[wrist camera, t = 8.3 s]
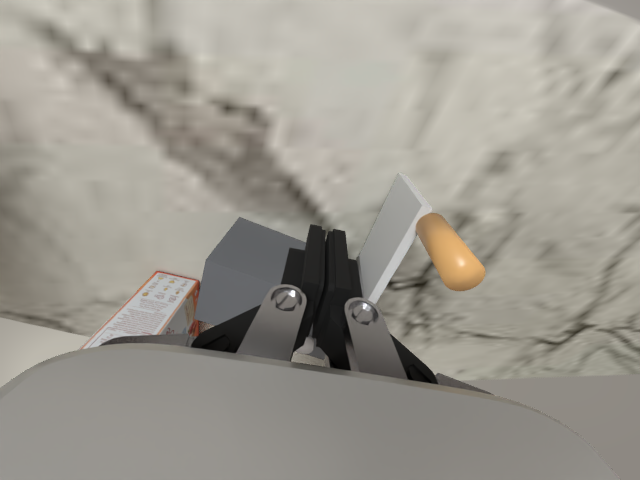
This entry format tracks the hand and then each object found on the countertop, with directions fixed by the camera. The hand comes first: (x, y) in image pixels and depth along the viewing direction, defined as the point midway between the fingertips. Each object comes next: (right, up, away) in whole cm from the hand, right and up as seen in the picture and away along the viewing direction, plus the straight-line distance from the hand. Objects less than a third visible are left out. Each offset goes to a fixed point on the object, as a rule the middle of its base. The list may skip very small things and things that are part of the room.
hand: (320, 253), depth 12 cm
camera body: (-3, -3, +18) cm, 19 cm away
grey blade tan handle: (+7, +2, +14) cm, 16 cm away
